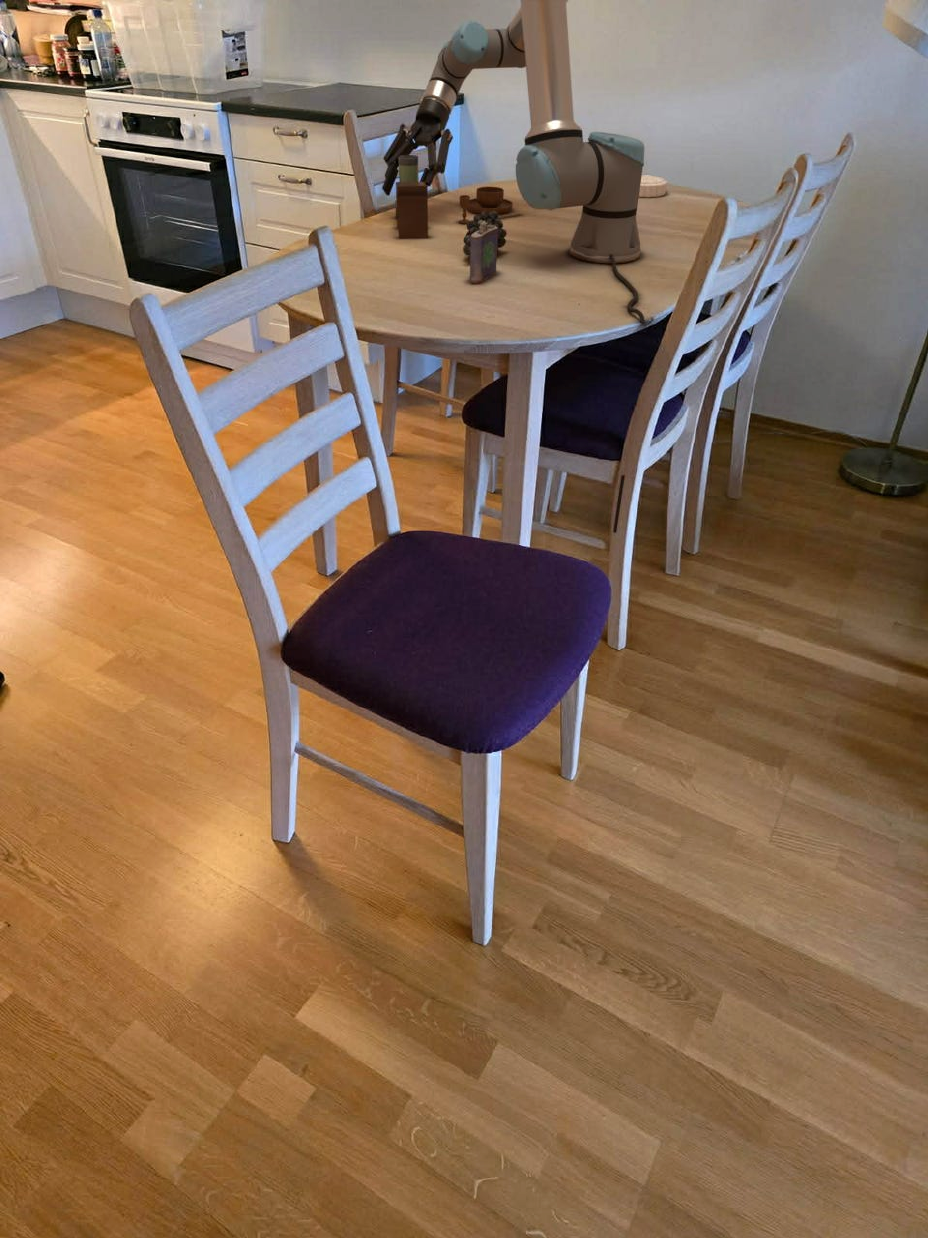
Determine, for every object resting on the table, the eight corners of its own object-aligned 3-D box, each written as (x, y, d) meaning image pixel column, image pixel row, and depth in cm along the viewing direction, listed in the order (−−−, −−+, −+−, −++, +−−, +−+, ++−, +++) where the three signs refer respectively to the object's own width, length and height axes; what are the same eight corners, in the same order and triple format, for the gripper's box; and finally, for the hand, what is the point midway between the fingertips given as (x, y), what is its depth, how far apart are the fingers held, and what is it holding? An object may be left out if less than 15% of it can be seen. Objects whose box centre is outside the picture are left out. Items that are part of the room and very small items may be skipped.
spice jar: (419, 204, 202) (418, 158, 196) (400, 205, 201) (398, 158, 195) (418, 200, 205) (417, 154, 199) (399, 200, 205) (398, 154, 199)
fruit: (475, 220, 171) (505, 203, 181) (441, 229, 175) (472, 211, 185) (487, 263, 175) (515, 244, 185) (453, 271, 179) (483, 252, 190)
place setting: (529, 214, 212) (530, 188, 208) (464, 225, 203) (464, 198, 199) (489, 200, 223) (489, 175, 219) (425, 209, 214) (425, 184, 211)
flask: (478, 284, 167) (479, 226, 160) (465, 282, 168) (465, 224, 162) (498, 272, 173) (501, 216, 167) (486, 270, 175) (488, 214, 168)
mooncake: (655, 199, 226) (657, 184, 224) (614, 193, 231) (616, 179, 229) (672, 191, 234) (674, 177, 232) (632, 185, 239) (634, 171, 237)
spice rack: (428, 237, 194) (427, 185, 187) (398, 238, 193) (397, 185, 186) (423, 217, 208) (422, 168, 201) (395, 217, 208) (394, 168, 201)
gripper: (479, 123, 200) (446, 209, 199) (404, 115, 208) (371, 198, 207) (469, 100, 193) (434, 189, 192) (391, 92, 201) (357, 178, 200)
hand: (402, 194), depth 200 cm, fingers open, 9 cm apart
